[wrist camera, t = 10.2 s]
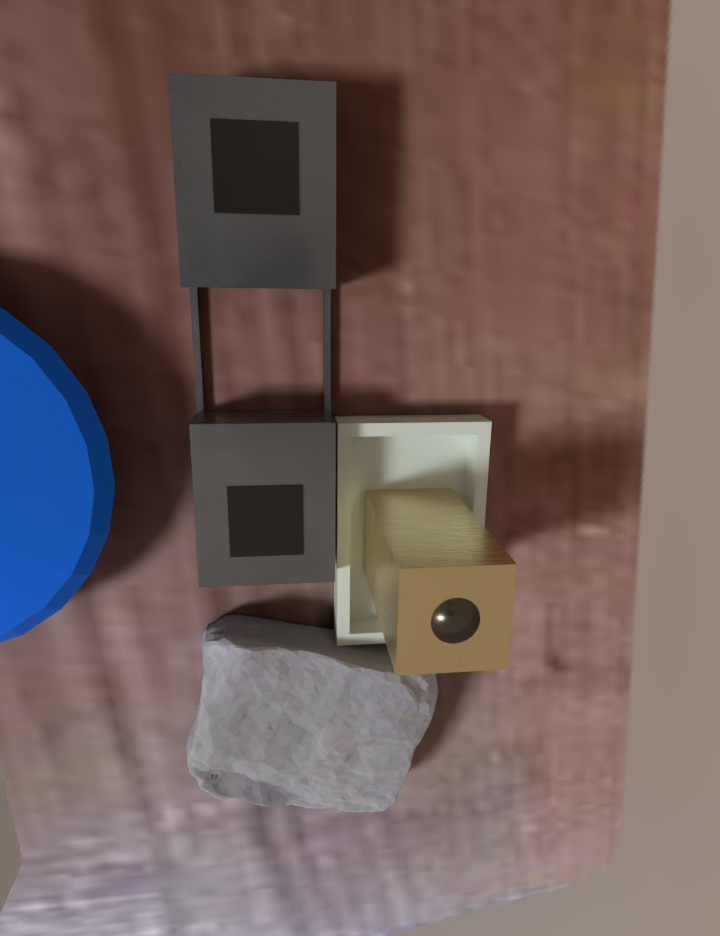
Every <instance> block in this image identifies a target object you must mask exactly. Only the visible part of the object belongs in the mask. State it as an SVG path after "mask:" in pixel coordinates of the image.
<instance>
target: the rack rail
mask: <svg viewBox="0 0 720 936" xmlns="http://www.w3.org/2000/svg"><path fill="white" fill-rule="evenodd" d="M168 85H169V102H170V118H171V135H172V151H173V168H174V184H175V200H176V217H177V233H178V250H179V266H180V282H181V287H190V302H191V319H192V336H193V354H194V371H195V389H196V406H197V413H196V415H195V416H194V418H193V419H192V421H191V422H190V424H189V430H190V446H191V463H192V479H193V496H194V512H195V529H196V545H197V561H198V578H199V587H222V586H245V585H268V584H291V583H315V582H335V487H336V422H335V420H334V418H333V415H332V413H331V289H336V82H330V81H311V80H292V79H273V78H254V77H235V76H217V75H198V74H179V73H168ZM198 287H223V288H299V289H323V381H324V410H239V411H205V407H204V389H203V370H202V352H201V333H200V314H199V296H198Z"/></svg>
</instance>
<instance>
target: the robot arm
mask: <svg viewBox="0 0 720 936" xmlns="http://www.w3.org/2000/svg"><path fill="white" fill-rule="evenodd" d="M22 861H23V859H22V854H21V850H20V846H19V841H18V837H17V832H16V828H15V823H14V819H13V815H12V810H11V806H10V801H9V797H8V792H7V788H6V784H5V779H4V775H3V770H2V766H1V761H0V913H1V910H2V908H3V906H4V903H5V901H6V899H7V896H8V894H9V892H10V889H11V887H12V885H13V882H14V880H15V877H16V875H17V873H18V870H19V868H20V866H21V863H22Z"/></svg>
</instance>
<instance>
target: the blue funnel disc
mask: <svg viewBox="0 0 720 936" xmlns="http://www.w3.org/2000/svg"><path fill="white" fill-rule="evenodd" d="M114 492H115V482H114V476H113V469H112V463H111V457H110V450H109V444H108V438H107V436H106V433H105V431H104V429H103V427H102V424H101V422H100V420H99V418H98V415H97V413H96V411H95V409H94V407H93V404H92V402H91V400H90V398H89V395H88V393H87V391H86V389H85V388H84V387H83V386H82V384H81V383H80V382H79V381H78V379H77V378H76V377H75V376H74V374H73V373H72V372H71V371H70V369H69V368H68V367H67V365H66V364H65V363H64V362H63V360H62V359H61V358H60V357H59V355H58V354H57V353H56V352H55V350H54V349H53V348H52V347H51V346H50V345H49V344H48V343H47V342H45V341H44V340H43V339H41V338H40V337H39V336H38V335H36V334H35V333H34V332H33V331H31V330H30V329H29V328H27V327H26V326H25V325H24V324H22V323H21V322H20V321H18V320H17V319H16V318H15V317H13V316H12V315H11V314H10V313H8V312H7V311H6V310H4V309H2V308H0V642H3V641H5V640H8V639H11V638H14V637H17V636H20V635H23V634H24V633H26V632H27V631H29V630H30V629H32V628H33V627H35V626H36V625H38V624H39V623H41V622H42V621H44V620H45V619H47V618H48V617H50V616H51V615H53V614H54V613H56V612H57V611H59V610H60V609H62V607H63V606H64V605H65V604H66V603H67V602H68V600H69V599H70V598H71V597H72V596H73V595H74V593H75V592H76V591H77V590H78V589H79V588H80V586H81V585H82V584H83V583H84V582H85V581H86V579H87V578H88V577H89V576H90V575H91V573H92V571H93V568H94V566H95V564H96V562H97V559H98V557H99V555H100V553H101V551H102V548H103V546H104V544H105V542H106V539H107V537H108V535H109V531H110V524H111V516H112V508H113V500H114Z"/></svg>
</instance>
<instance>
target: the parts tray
mask: <svg viewBox="0 0 720 936" xmlns="http://www.w3.org/2000/svg"><path fill="white" fill-rule="evenodd" d="M334 420H335V422H336V487H335V582H334V630H335V636H336V642H337V646H343V645H361V644H379V643H386V642H385V639H384V636H383V633H382V629H381V626H380V623H379V619H378V616H377V613H376V610H375V606H374V603H373V600H372V596H371V593H370V590H369V587H368V583H367V580H366V577H365V573H364V518H365V490H376V489H417V488H451V489H452V490H453V491H454V492H455V493H456V494H457V496H458V497H459V498H460V499H461V500H462V501H463V503H464V504H465V505H466V506H467V507H468V508H469V509H470V511H471V512H472V513H473V514H474V515H475V516H476V518H477V519H478V520H479V521H480V522H481V523H482V524H483V526H484V527H485V512H486V498H487V484H488V469H489V455H490V441H491V426H492V422H491V421H490V420H488V419H487V418H485V417H483V416H482V415H480V414H456V415H368V416H334Z"/></svg>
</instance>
